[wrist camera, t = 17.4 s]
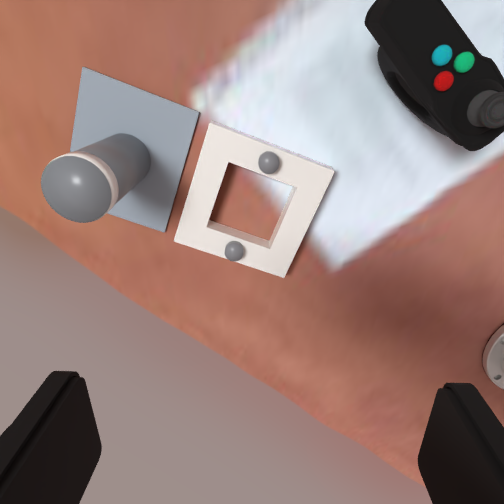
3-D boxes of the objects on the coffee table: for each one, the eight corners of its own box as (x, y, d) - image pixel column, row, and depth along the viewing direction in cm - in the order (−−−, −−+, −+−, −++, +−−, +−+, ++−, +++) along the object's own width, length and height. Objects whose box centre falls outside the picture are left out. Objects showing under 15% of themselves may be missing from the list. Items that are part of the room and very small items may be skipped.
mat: (199, 112, 31) (199, 112, 31) (165, 231, 36) (164, 232, 36) (84, 66, 29) (82, 66, 29) (64, 197, 34) (63, 198, 34)
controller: (424, 143, 32) (491, 168, 23) (335, 33, 28) (373, 10, 19) (466, 106, 31) (555, 117, 22) (379, -15, 27) (441, -63, 18)
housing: (330, 166, 33) (336, 173, 30) (282, 268, 38) (284, 282, 35) (212, 120, 31) (208, 123, 29) (177, 233, 36) (171, 244, 33)
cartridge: (133, 123, 31) (83, 143, 22) (160, 171, 33) (124, 207, 24) (90, 146, 32) (25, 173, 23) (119, 191, 34) (69, 233, 25)
